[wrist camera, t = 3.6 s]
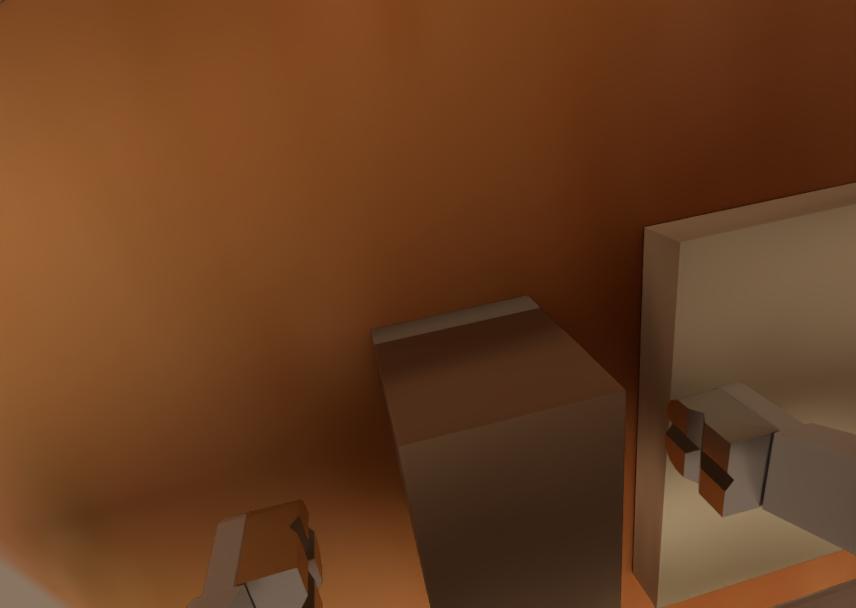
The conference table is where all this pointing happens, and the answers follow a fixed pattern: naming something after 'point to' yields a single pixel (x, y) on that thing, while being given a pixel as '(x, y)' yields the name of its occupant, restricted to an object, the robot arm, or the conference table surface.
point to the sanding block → (507, 457)
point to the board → (740, 370)
